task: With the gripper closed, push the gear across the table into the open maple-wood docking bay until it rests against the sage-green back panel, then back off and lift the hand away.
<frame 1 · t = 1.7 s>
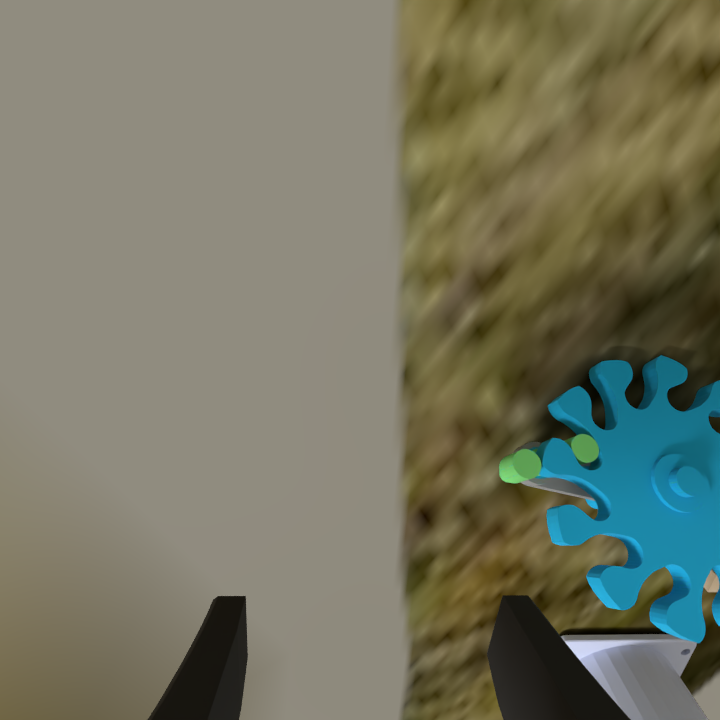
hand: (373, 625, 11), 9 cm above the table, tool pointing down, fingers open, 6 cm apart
gear: (598, 426, 21), on the table
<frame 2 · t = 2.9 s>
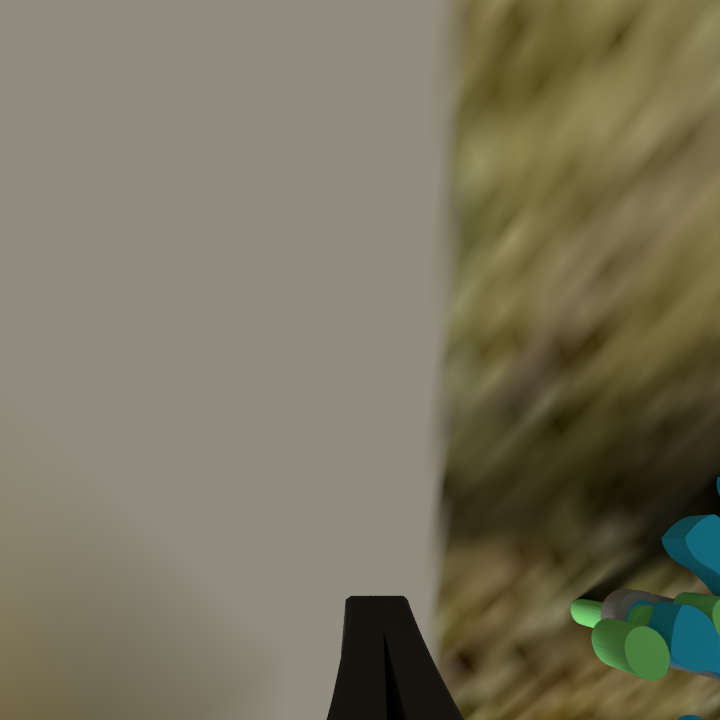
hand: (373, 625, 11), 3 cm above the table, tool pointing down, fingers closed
gear: (713, 546, 15), on the table
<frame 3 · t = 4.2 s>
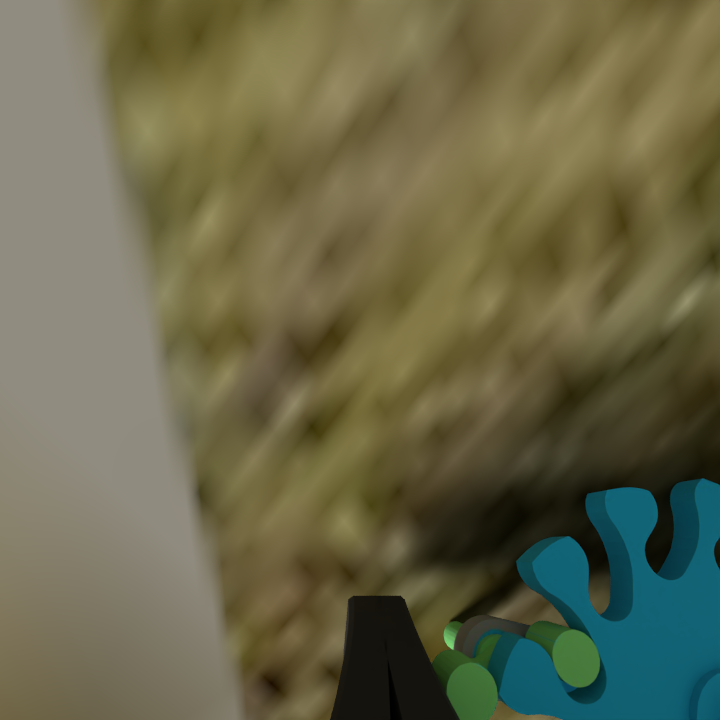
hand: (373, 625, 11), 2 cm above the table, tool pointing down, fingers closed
gear: (596, 567, 14), on the table, touching gripper
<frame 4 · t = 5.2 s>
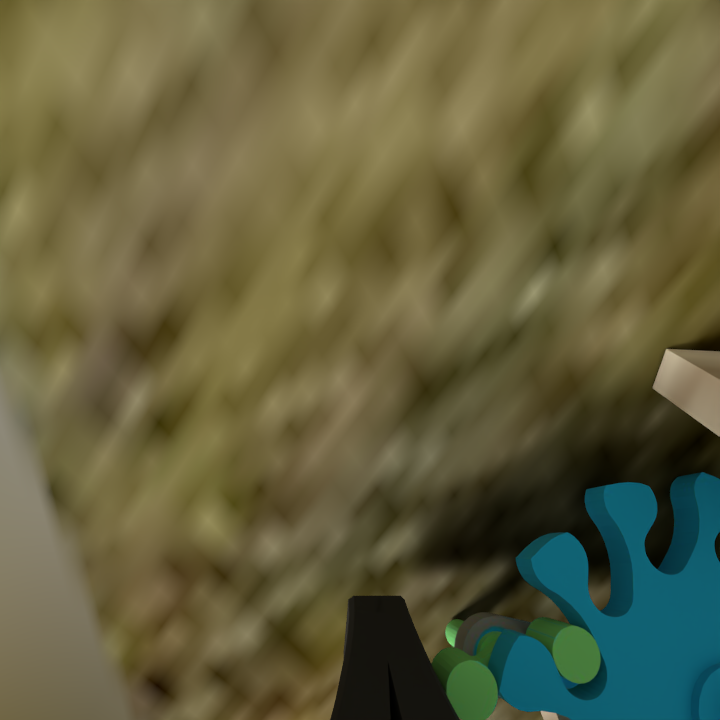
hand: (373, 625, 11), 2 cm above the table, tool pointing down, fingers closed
dock: (705, 562, 14), on the table
gear: (598, 562, 14), on the table, touching gripper
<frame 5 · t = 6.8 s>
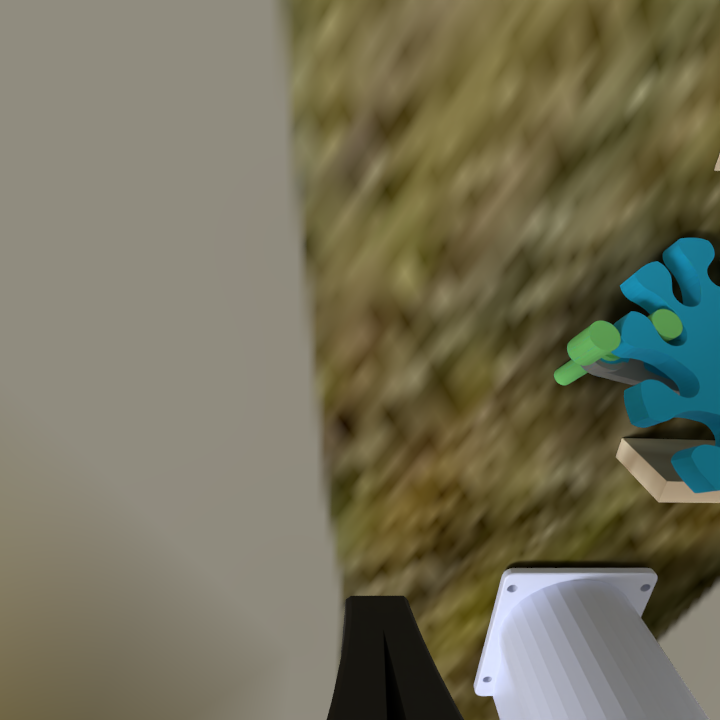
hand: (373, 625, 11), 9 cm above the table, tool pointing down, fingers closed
gear: (663, 326, 19), on the table
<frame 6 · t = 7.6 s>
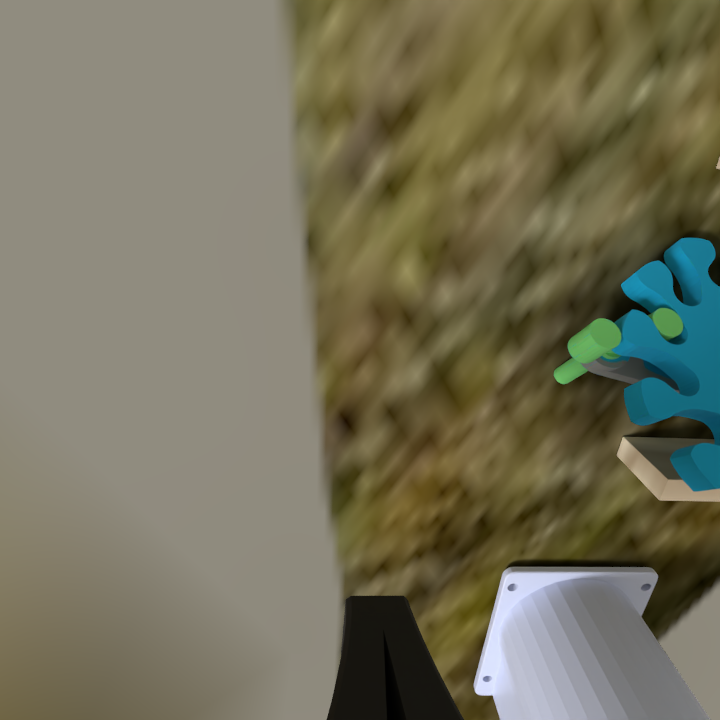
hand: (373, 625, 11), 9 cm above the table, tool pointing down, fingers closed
gear: (663, 326, 19), on the table
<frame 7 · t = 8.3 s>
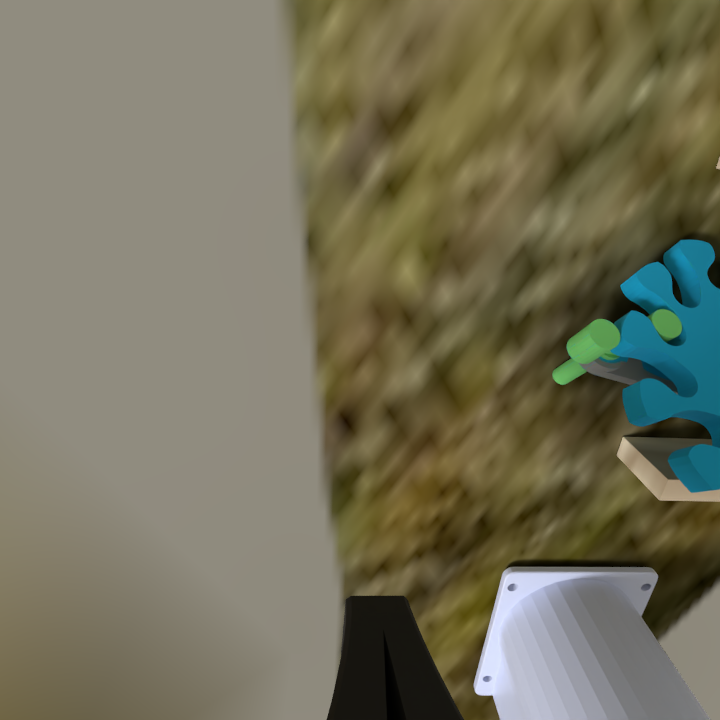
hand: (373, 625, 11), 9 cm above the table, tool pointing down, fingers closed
gear: (662, 328, 19), on the table
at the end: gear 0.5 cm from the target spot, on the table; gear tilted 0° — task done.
